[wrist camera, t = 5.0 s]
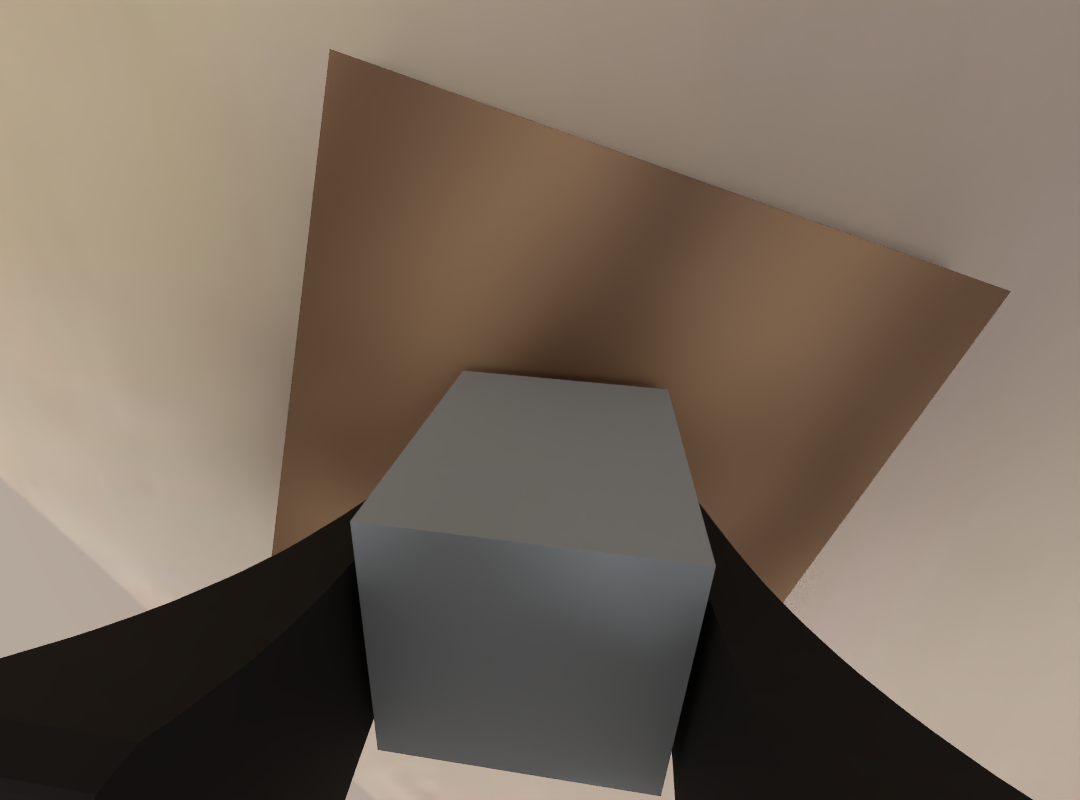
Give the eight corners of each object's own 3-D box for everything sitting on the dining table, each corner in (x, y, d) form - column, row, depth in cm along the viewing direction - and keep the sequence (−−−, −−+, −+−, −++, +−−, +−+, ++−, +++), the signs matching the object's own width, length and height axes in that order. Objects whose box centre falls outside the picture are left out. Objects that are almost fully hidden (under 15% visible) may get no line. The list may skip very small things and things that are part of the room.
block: (668, 389, 11) (715, 566, 6) (641, 555, 13) (660, 796, 8) (462, 370, 12) (350, 521, 6) (464, 534, 13) (378, 749, 8)
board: (949, 272, 12) (1010, 291, 10) (690, 660, 18) (699, 715, 16) (373, 67, 12) (329, 49, 10) (304, 529, 18) (270, 571, 16)
